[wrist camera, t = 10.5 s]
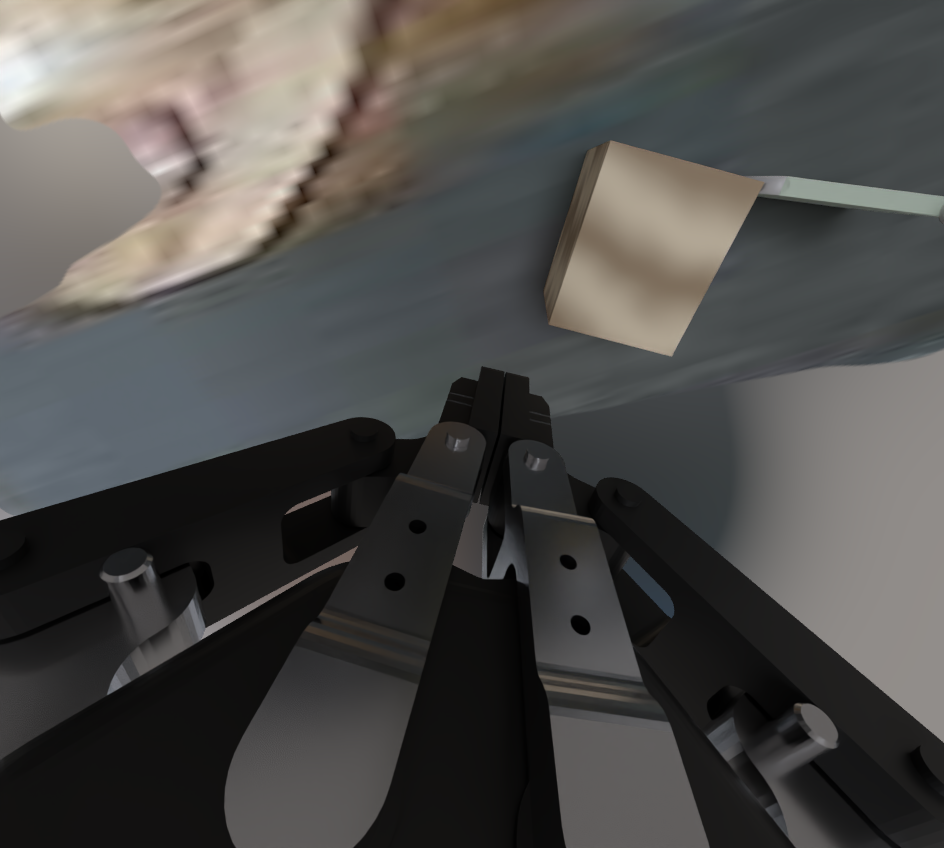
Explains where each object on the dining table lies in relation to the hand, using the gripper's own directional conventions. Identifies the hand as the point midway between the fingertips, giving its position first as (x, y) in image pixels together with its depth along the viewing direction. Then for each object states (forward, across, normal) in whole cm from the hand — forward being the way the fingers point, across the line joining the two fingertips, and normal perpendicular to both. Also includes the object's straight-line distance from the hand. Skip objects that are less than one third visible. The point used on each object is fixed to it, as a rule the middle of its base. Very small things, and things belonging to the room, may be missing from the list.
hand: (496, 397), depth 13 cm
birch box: (+31, -9, -3) cm, 32 cm away
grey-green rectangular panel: (+31, -20, -9) cm, 38 cm away
